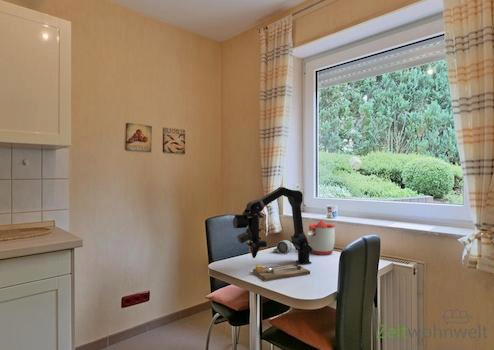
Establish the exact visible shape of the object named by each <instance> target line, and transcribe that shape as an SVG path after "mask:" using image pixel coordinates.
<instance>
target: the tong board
mask: <svg viewBox="0 0 494 350" xmlns="http://www.w3.org/2000/svg"><path fill="white" fill-rule="evenodd" d="M295 264H296V263H295V262H294V263H289V264H280V265H273V266H265V267H263V271H257V270H256V268H253V269H252V272H253V274H255V275H257V277H259V278H260V279H262V280H263V281H265V282H269V281H274V280H281V279H288V278H295V277H301V276H307V275H311V271H310V270H309V269H307V268H305V267H303V266H302V265H299V264H297V265H298V266H294V267H286V268H279V269H273V272H271V273H267V272H266V268H275V267H282V266H289V265H295Z"/></svg>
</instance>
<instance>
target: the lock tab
mask: <svg viewBox="0 0 494 350" xmlns="http://www.w3.org/2000/svg"><path fill="white" fill-rule="evenodd" d="M263 268H264V267H263V265H261V264H257V265H255V269H256V270H257V271H263Z"/></svg>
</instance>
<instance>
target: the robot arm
mask: <svg viewBox="0 0 494 350" xmlns="http://www.w3.org/2000/svg"><path fill="white" fill-rule="evenodd" d="M280 197H285V198H287V200H288V203H289V205H290V207H291V212H292V213H291V214H292V221H293V222H292V223H293V231H294V232H293V235H291V237H290V238H291V244H292V247H294V248H295V250H296V251H297V260H295V262H296V263H298V264H300V265H307V264H312V262H313V261H310V253H313V252H312V248H311V246H310V244H309V240H308V238H307V236H306V234H305V232H304V224H303V215H302V208H301V207H302V203H303V197H304V195H303V192H302V191H300V190H298V189H297V190H295V189H289V188H286V187H284V186H278V188H276V189H274V190H272V191H271V192H269V193H268V194H266V195H265V196H263V197H261V198H259V199H254V200H252V201H249V202H248V203H247V204H246V207H245V209H244V210H243V212H242V214H234V217H233V219H232V225H233V228H234V229H246V230H245V232H243V233H240V234H238V235H237V236H236V239H237V241H238V243H240V244H244V243H245V245H247V246H248V248H249V249H250V254H251V256H252V259H256V257H257V255H258V253H259V251H260V250H261V249H260V248H265V247H268V242H267V241H266V240H264V239H262V238H261V237H260V232H262V229H261V228H260V219H263V218H264V216H263V215H262V214H261V212H262V211H263V210H264V209H265V208H266V206H267V205H269V204H271V203H272V202H274V201H276V200H277V199H279V198H280Z"/></svg>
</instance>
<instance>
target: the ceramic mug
mask: <svg viewBox="0 0 494 350" xmlns="http://www.w3.org/2000/svg"><path fill="white" fill-rule="evenodd" d="M292 247H293V244H292V241H291V240H290V241H289V240H288V239H284V240H280V241H279V242H277V244H276V248H274V249H273V251H274V252H275V253H276V252H278V253H279V254H281V255H286V254H287V253H289V252H290V251H291V250H292Z"/></svg>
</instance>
